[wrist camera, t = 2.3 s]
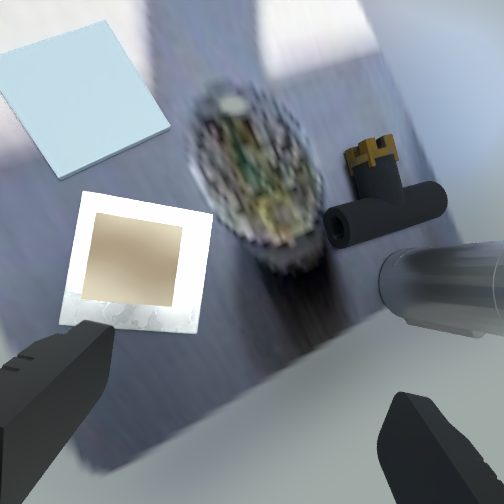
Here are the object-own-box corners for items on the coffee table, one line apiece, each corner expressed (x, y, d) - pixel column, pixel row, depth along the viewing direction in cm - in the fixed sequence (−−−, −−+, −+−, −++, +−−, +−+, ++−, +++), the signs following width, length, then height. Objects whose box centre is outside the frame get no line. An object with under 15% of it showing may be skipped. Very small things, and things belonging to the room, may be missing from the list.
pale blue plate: (170, 129, 33) (170, 126, 32) (61, 180, 30) (58, 178, 29) (106, 26, 32) (105, 19, 31) (-15, 66, 28) (-20, 60, 28)
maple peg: (164, 292, 32) (171, 307, 19) (112, 287, 30) (80, 298, 17) (171, 245, 32) (183, 226, 19) (120, 237, 31) (95, 211, 18)
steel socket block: (193, 329, 33) (196, 333, 30) (66, 320, 29) (58, 324, 27) (208, 218, 34) (212, 214, 31) (88, 197, 30) (83, 190, 28)
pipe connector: (328, 145, 33) (430, 124, 38) (305, 160, 38) (397, 141, 43) (356, 247, 34) (452, 215, 38) (329, 249, 39) (417, 221, 43)
